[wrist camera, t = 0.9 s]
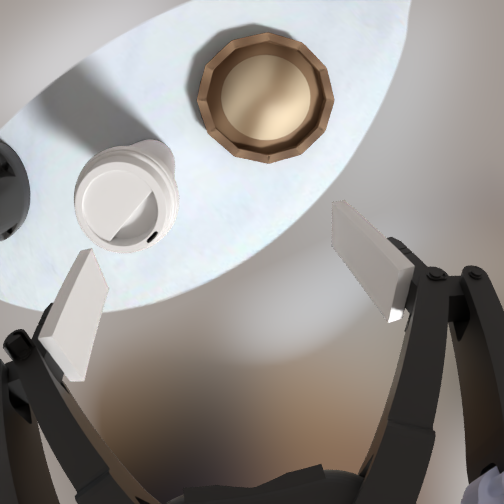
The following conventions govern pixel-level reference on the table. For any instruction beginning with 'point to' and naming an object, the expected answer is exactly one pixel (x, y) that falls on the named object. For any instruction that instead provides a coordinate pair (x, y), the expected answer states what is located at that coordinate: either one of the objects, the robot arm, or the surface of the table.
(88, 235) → the coffee cup
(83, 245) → the table surface
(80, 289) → the robot arm
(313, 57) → the polygonal wooden dish
